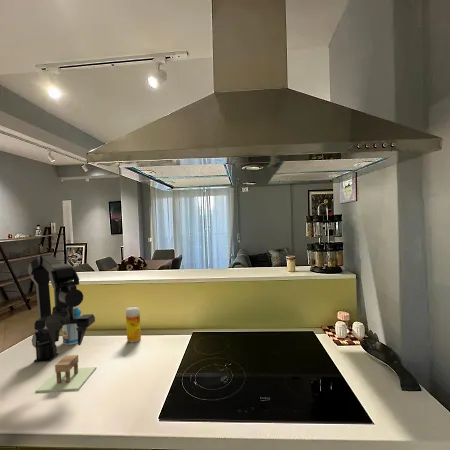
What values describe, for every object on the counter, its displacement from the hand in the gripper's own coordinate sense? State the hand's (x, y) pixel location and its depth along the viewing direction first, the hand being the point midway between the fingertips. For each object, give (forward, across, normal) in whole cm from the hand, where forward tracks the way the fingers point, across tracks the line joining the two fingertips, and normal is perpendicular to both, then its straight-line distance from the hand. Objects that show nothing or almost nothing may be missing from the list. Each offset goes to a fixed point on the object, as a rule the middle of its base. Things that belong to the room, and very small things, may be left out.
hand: (66, 345), depth 105 cm
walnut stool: (+11, 0, 0) cm, 11 cm away
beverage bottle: (+12, -15, +34) cm, 39 cm away
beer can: (+12, +14, +32) cm, 37 cm away
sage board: (+12, 0, 0) cm, 12 cm away
